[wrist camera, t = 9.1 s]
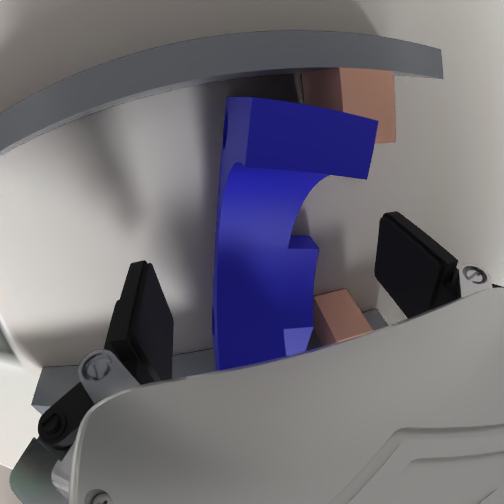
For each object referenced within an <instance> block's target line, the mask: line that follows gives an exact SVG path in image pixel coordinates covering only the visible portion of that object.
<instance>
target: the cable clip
mask: <svg viewBox="0 0 504 504" xmlns="http://www.w3.org/2000/svg"><path fill="white" fill-rule="evenodd" d="M378 122H379V121H377V120H374V119H370V118H366V117H362V116H358V115H354V114H350V113H345V112H341V111H336V110H332V109H327V108H322V107H316V106H311V105H305V104H299V103H293V102H287V101H280V100H272V99H264V98H255V97H227V100H226V109H225V120H224V130H223V142H222V153H221V165H220V178H219V192H218V207H217V223H216V240H215V259H214V281H213V308H212V335H213V345H214V354H215V363H216V371H220V370H225V369H230V368H235V367H240V366H245V365H250V364H255V363H259V362H264V361H268V360H272V359H277V358H281V357H285V356H289V355H293V354H297V353H301V352H304V351H305V350H306V348H307V345H308V342H309V339H310V336H311V333H312V330H313V327H314V324H313V288H314V277H315V269H316V263H317V258H318V253H319V248H318V246H317V245H316V244H315V242H314V241H313V240H312V238H311V237H310V236H301V235H291V233H292V229H293V226H294V223H295V220H296V217H297V214H298V212H299V210H300V207H301V205H302V203H303V201H304V200H305V198H306V196H307V195H308V193H309V192H310V191H311V189H312V188H313V187H314V186H315V185H316V184H317V183H318V182H319V181H320V180H322V179H323V178H325V177H327V176H329V175H337V176H344V177H352V178H359V179H366V180H367V177H368V172H369V168H370V163H371V159H372V154H373V149H374V144H375V139H376V133H377V128H378Z"/></svg>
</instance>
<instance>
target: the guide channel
mask: <svg viewBox="0 0 504 504" xmlns="http://www.w3.org/2000/svg"><path fill="white" fill-rule="evenodd" d="M289 73H301V75H302V84H303V93H304V102H305V105H311V106H316V107H322V108H327V109H332V110H336V111H341V112H345V113H350V114H354V115H358V116H362V117H366V118H370V119H374V120H377V121H379V122H378V128H377V133H376V139H375V143H389V142H396V129H395V95H394V79H393V76H414V77H427V78H438V79H443V67H442V56H441V49H437V48H433V47H429V46H425V45H421V44H417V43H412V42H408V41H403V40H398V39H392V38H386V37H380V36H373V35H365V34H357V33H347V32H334V31H313V30H280V31H259V32H246V33H235V34H227V35H219V36H212V37H205V38H199V39H194V40H188V41H183V42H178V43H174V44H169V45H165V46H160V47H156V48H152V49H149V50H145V51H141V52H138V53H134V54H131V55H128V56H124V57H121V58H118V59H115V60H112V61H109V62H106V63H104V64H101V65H98V66H95V67H93V68H90V69H88V70H85V71H83V72H80V73H78V74H75V75H73V76H71V77H68V78H66V79H64V80H62V81H59V82H57V83H55V84H53V85H51V86H49V87H47V88H45V89H43V90H41V91H39V92H37V93H35V94H33V95H31V96H30V97H28V98H26V99H24V100H22V101H21V102H19V103H17V104H15V105H14V106H12V107H10V108H9V109H7V110H5V111H4V112H2V113H1V114H0V156H1V155H3V154H5V153H6V152H8V151H10V150H12V149H14V148H16V147H17V146H19V145H21V144H23V143H25V142H27V141H29V140H31V139H33V138H35V137H37V136H39V135H42V134H44V133H46V132H48V131H50V130H53V129H55V128H57V127H59V126H62V125H64V124H67V123H69V122H71V121H74V120H76V119H79V118H82V117H84V116H87V115H90V114H92V113H95V112H98V111H101V110H104V109H107V108H110V107H113V106H116V105H119V104H122V103H125V102H129V101H132V100H135V99H139V98H142V97H146V96H150V95H154V94H158V93H162V92H166V91H170V90H174V89H179V88H184V87H188V86H193V85H199V84H204V83H210V82H216V81H222V80H229V79H236V78H244V77H252V76H262V75H274V74H289ZM313 324H314V327H313V330H312V333H311V336H310V339H309V342H308V345H307V348H306V350H305V351H308V350H312V349H316V348H319V347H323V346H326V345H330V344H333V343H337V342H340V341H343V340H347V339H350V338H353V337H356V336H360V335H363V334H366V333H369V332H372V331H375V330H378V329H381V328H384V327H386V326H388V324H387V323H386V321H385V320H384V318H383V317H382V316H381V314H380V313H379V311H378V310H377V309H373V310H370V311H367V312H364V313H362V312H361V311H360V309H359V308H358V306H357V304H356V303H355V301H354V300H353V298H352V297H351V295H350V294H349V292H348V291H347V289H346V288H345V289H342V290H338V291H334V292H330V293H326V294H322V295H318V296H314V308H313ZM78 367H79V365H77V366H59V367H43V369H42V372H41V375H40V378H39V381H38V384H37V387H36V391H35V394H34V397H33V401H32V404H31V405H32V406H33V407H34V408H35V409H36V410H37V411H38V412H40V413H41V414H43V413H44V412H45V411H46V410H47V409H49V408H50V407H51V406H52V405H53V404H54V403H56V402H57V401H58V400H59V399H60V398H61V397H63V396H64V395H65V394H66V393H67V392H68V391H70V390H71V389H72V388H73V387H74V386H75V385H77V384H78V383H79V382H80V380H79V377H78ZM215 371H216V363H215V354H214V349H209V350H203V351H197V352H191V353H185V354H178V355H172V379H174V378H180V377H186V376H192V375H198V374H204V373H209V372H215Z"/></svg>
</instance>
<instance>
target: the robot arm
mask: <svg viewBox="0 0 504 504" xmlns="http://www.w3.org/2000/svg"><path fill="white" fill-rule="evenodd" d="M457 262H458V260H457V259H456V258H455V257H453V256H452V255H451V254H450V253H449V252H448V251H446V250H445V249H444V248H443V247H442V246H441V245H439V244H438V243H437V242H436V241H435V240H433V239H432V238H431V237H430V236H428V235H427V234H426V233H425V232H423V231H422V230H421V229H420V228H418V227H417V226H416V225H415V224H413V223H412V222H411V221H409V220H408V219H407V218H405V217H404V216H403V215H401V214H400V213H399V212H397V211H395V212H389V213H385V214H384V215H383V217H382V218H381V219H380V224H379V235H378V245H377V254H376V262H375V269H374V273H375V277H376V278H377V280H378V281H379V282H380V283H381V285H382V286H383V287H384V288H385V290H386V291H387V292H388V293H389V295H390V296H391V297H392V298H393V300H394V301H395V302H396V304H397V305H398V306H399V307H400V309H401V310H402V311H403V313H404V314H405V315H406V316H407V318H408V319H406V320H403V321H401V322H398V323H395V324H392V325H389V326H386V327H384V328H381V329H378V330H375V331H372V332H369V333H366V334H363V335H360V336H356V337H353V338H350V339H347V340H343V341H340V342H337V343H333V344H330V345H326V346H323V347H319V348H316V349H312V350H308V351H304V352H301V353H297V354H293V355H289V356H285V357H281V358H277V359H272V360H268V361H264V362H259V363H255V364H250V365H245V366H240V367H235V368H230V369H225V370H220V371H215V372H209V373H204V374H198V375H192V376H186V377H180V378H174V379H172V355H173V325H174V323H173V317H172V314H171V312H170V309H169V307H168V304H167V302H166V299H165V297H164V294H163V292H162V289H161V286H160V284H159V281H158V279H157V276H156V273H155V270H154V268H153V265H152V264H151V263H148V264H147V262H146V261H145V260H144V261H139V262H135V263H131V265H130V267H129V271H128V274H127V277H126V280H125V284H124V287H123V290H122V294H121V297H120V300H118V301H117V302H116V304H115V308H114V311H113V315H112V319H111V322H110V326H109V330H108V334H107V338H106V342H105V346H104V349H99V350H96V351H93V352H91V353H89V354H88V355H87V356H86V357H85V358H83V360H82V361H81V363H80V365H79V367H78V377H79V380H80V382H79V383H78V384H77V385H75V386H74V387H73V388H72V389H71V390H70V391H68V392H67V393H66V394H65V395H64V396H63V397H61V398H60V399H59V400H58V401H57V402H56V403H54V404H53V405H52V406H51V407H50V408H49V409H47V410H46V411H45V412H44V413H43V415H42V416H41V418H40V420H39V423H38V433H39V437H38V439H36V438H33V439H32V441H31V442H30V444H29V445H28V447H27V448H26V450H25V451H24V453H23V454H22V456H21V458H20V459H19V461H18V462H17V464H16V465H15V467H14V469H13V470H12V472H11V475H10V486H11V489H12V491H13V492H14V493H15V495H16V496H17V497H18V499H19V500H20V501H21V502H22V503H23V504H504V287H502V286H498V285H495V284H492V282H491V278H490V276H489V274H488V272H487V271H486V270H485V269H483V268H482V267H480V266H478V265H475V264H469V263H468V264H464V265H462V266H461V267H460V268H459V270H458V269H457V268H456V266H457Z"/></svg>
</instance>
